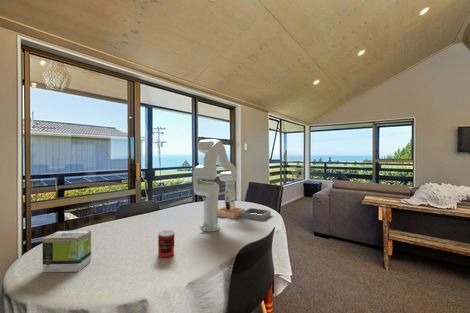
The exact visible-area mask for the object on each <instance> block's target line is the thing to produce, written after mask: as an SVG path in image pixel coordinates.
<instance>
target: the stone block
mask: <svg viewBox="0 0 470 313" xmlns="http://www.w3.org/2000/svg"><path fill="white" fill-rule="evenodd" d="M229 204H230V210H232V209H234V208H235V207H236V200H234V201H230V203H229ZM224 207H225V209H226V203H225V202H224Z"/></svg>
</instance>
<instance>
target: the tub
mask: <svg viewBox="0 0 470 313" xmlns="http://www.w3.org/2000/svg"><path fill="white" fill-rule="evenodd" d="M245 210H246V209H245V208H242V207H237V206H235V208H234V209H232V210H230V209H225V206H222V207H218V218H222V217H225V218H224V219H227V218H228V219H236V218H238V217H240V214H241V212H243V211H245Z"/></svg>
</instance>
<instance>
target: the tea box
mask: <svg viewBox="0 0 470 313" xmlns="http://www.w3.org/2000/svg"><path fill="white" fill-rule="evenodd" d="M91 262H92V231H91V230H63V231H62V230H58V231H56V232H54V233H52V234H50V235H47V236H45V237H43V238H42V273H68V272H69V273H70V272H72V273H73V272H80V271H81V270H83V269H84V268H85V267H86V266H87V265H89V264H90V263H91Z"/></svg>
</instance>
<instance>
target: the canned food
mask: <svg viewBox="0 0 470 313" xmlns="http://www.w3.org/2000/svg"><path fill="white" fill-rule="evenodd" d="M157 237H158V240H157V241H158V243H157V244H158V246H157V247H158V253H157V254H158V257H159V258H162V259H165V258H171V257H172V256H174V254H175V231H173V230H171V229H169V230H167V229H166V230H161V231H159V232H158V236H157Z"/></svg>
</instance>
